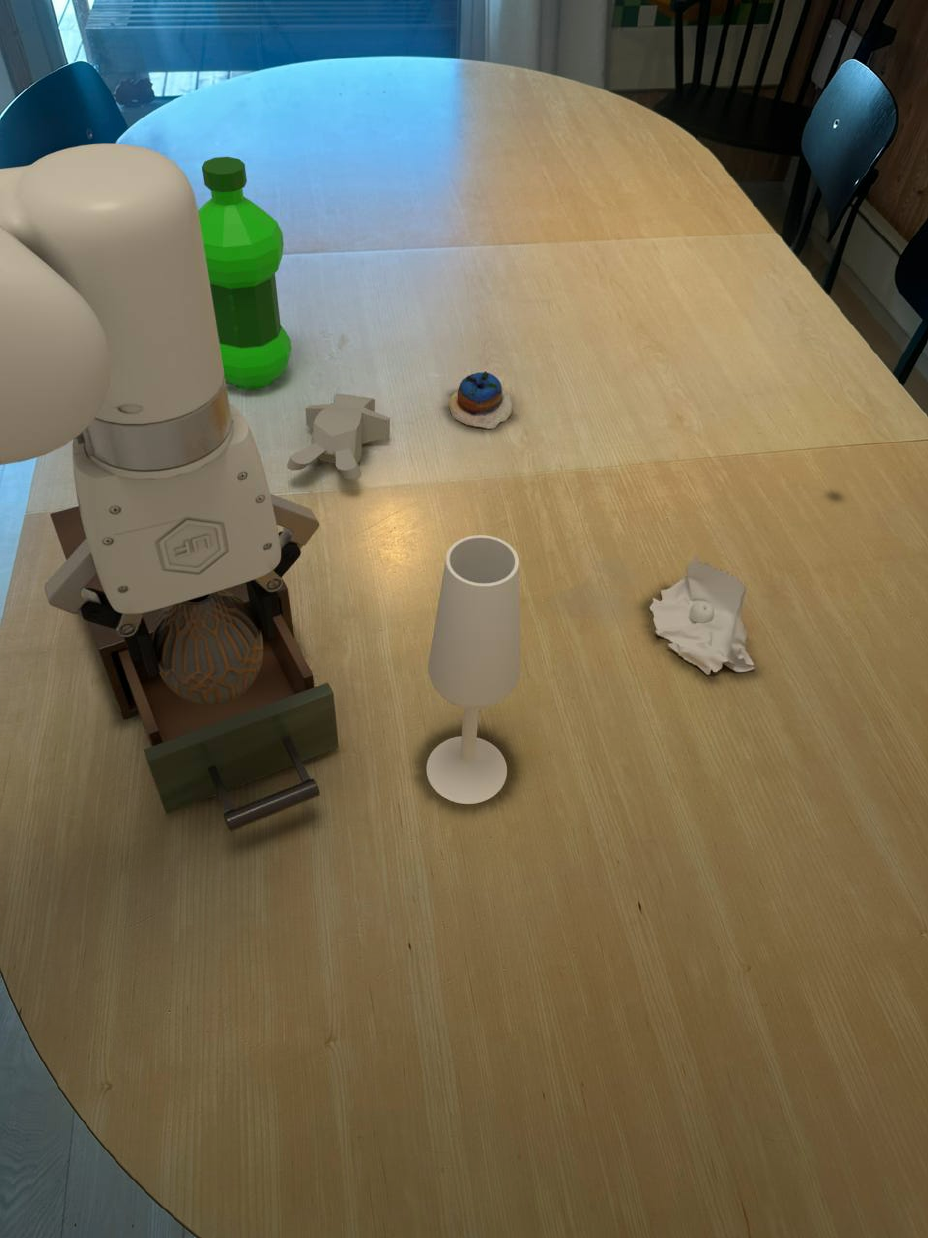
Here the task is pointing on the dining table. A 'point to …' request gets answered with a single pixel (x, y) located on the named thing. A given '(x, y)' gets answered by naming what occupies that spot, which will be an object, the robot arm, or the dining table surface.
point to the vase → (208, 648)
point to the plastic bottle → (243, 277)
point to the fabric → (705, 619)
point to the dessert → (481, 401)
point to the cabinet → (108, 638)
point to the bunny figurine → (341, 433)
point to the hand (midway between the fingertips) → (207, 640)
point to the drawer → (237, 733)
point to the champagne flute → (474, 661)
